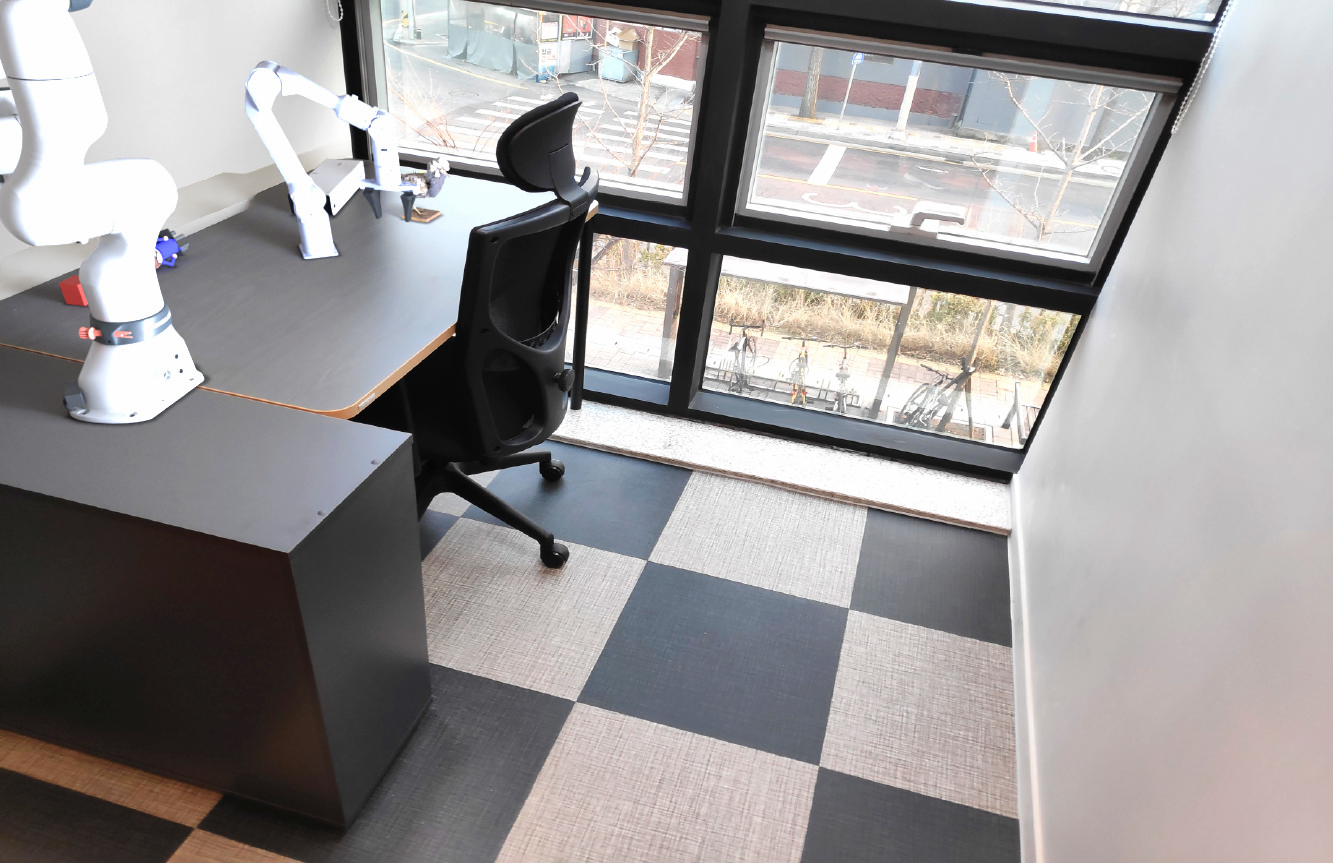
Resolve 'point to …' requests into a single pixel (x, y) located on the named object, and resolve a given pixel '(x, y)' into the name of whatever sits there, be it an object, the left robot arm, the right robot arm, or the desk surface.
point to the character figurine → (168, 248)
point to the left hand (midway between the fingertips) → (60, 240)
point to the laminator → (336, 182)
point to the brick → (73, 291)
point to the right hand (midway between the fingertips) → (393, 219)
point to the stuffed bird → (428, 187)
